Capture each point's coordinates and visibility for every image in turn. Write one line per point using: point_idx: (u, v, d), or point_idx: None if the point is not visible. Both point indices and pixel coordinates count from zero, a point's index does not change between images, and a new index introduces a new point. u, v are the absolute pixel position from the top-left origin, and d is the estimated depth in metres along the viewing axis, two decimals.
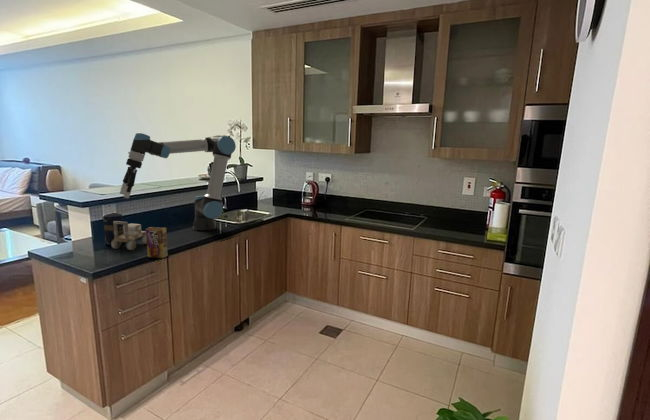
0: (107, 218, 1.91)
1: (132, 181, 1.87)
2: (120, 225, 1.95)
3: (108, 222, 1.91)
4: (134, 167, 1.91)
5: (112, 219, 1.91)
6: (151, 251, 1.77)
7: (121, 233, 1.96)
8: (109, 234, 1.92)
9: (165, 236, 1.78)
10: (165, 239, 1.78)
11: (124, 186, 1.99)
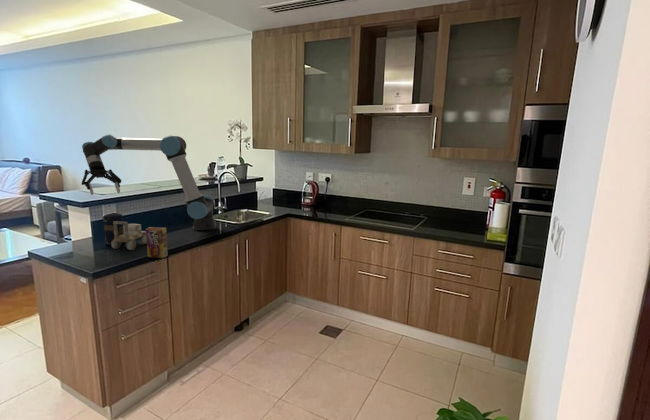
0: (107, 218, 1.91)
1: (82, 180, 1.95)
2: (120, 225, 1.95)
3: (108, 222, 1.91)
4: (90, 169, 2.02)
5: (112, 219, 1.91)
6: (151, 251, 1.77)
7: (121, 233, 1.96)
8: (109, 234, 1.92)
9: (165, 236, 1.78)
10: (165, 239, 1.78)
11: (115, 185, 2.05)
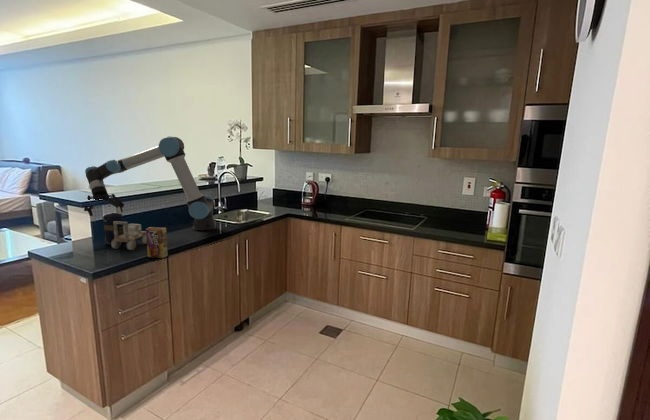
0: (107, 218, 1.91)
1: None
2: (120, 225, 1.95)
3: (108, 222, 1.91)
4: (93, 195, 2.01)
5: (112, 219, 1.91)
6: (151, 251, 1.77)
7: (121, 233, 1.96)
8: (109, 234, 1.92)
9: (165, 236, 1.78)
10: (165, 239, 1.78)
11: (118, 210, 2.05)
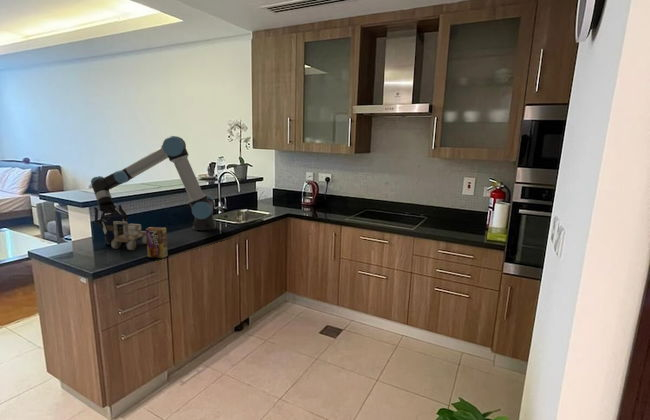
0: (107, 218, 1.91)
1: (95, 219, 1.92)
2: (120, 225, 1.95)
3: (108, 222, 1.91)
4: None
5: (112, 219, 1.91)
6: (151, 251, 1.77)
7: (121, 233, 1.96)
8: (109, 234, 1.92)
9: (165, 236, 1.78)
10: (165, 239, 1.78)
11: None
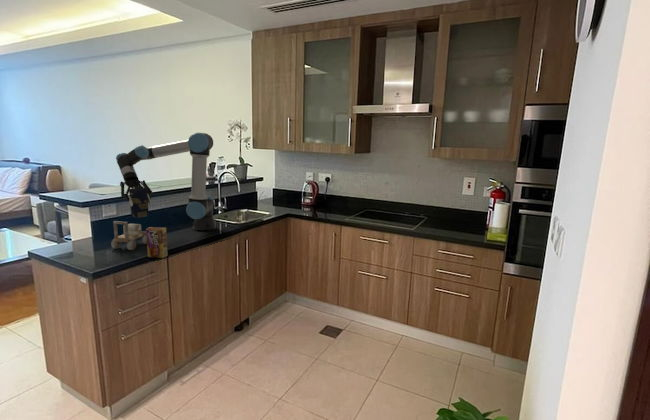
0: (133, 191, 1.99)
1: (121, 192, 2.01)
2: (145, 198, 2.04)
3: (134, 195, 2.00)
4: (124, 180, 2.06)
5: (138, 192, 2.00)
6: (151, 251, 1.77)
7: (146, 206, 2.05)
8: (135, 207, 2.01)
9: (165, 236, 1.78)
10: (165, 239, 1.78)
11: None
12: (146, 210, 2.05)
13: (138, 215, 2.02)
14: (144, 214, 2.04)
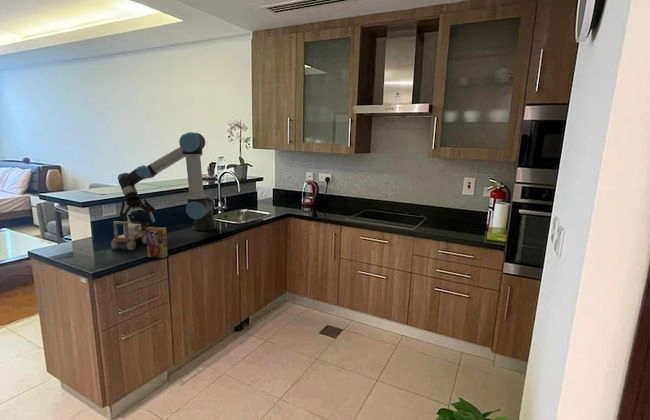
0: (134, 214, 2.02)
1: (120, 211, 2.02)
2: (146, 221, 2.06)
3: (135, 218, 2.02)
4: (126, 200, 2.09)
5: (139, 215, 2.02)
6: (151, 251, 1.77)
7: None
8: None
9: (165, 236, 1.78)
10: (165, 239, 1.78)
11: (150, 215, 2.12)
12: None
13: (139, 238, 2.05)
14: None
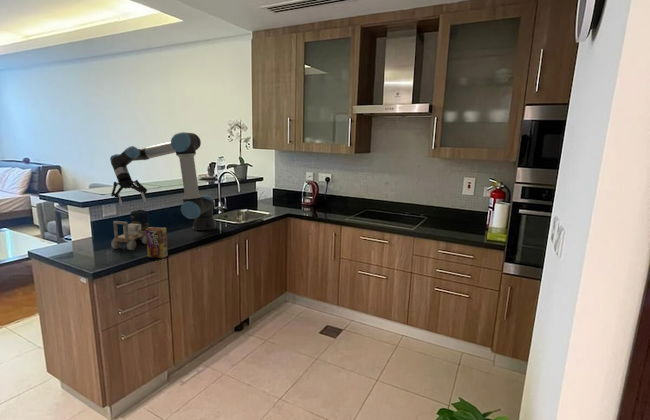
0: (134, 214, 2.02)
1: (112, 191, 2.10)
2: (146, 221, 2.06)
3: (135, 218, 2.02)
4: (118, 181, 2.16)
5: (139, 215, 2.02)
6: (151, 251, 1.77)
7: None
8: None
9: (165, 236, 1.78)
10: (165, 239, 1.78)
11: (142, 195, 2.20)
12: None
13: (139, 238, 2.05)
14: None
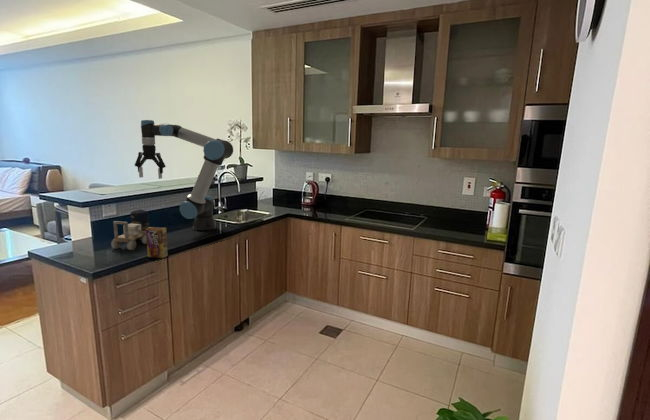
0: (134, 214, 2.02)
1: None
2: (146, 221, 2.06)
3: (135, 218, 2.02)
4: None
5: (139, 215, 2.02)
6: (151, 251, 1.77)
7: None
8: None
9: (165, 236, 1.78)
10: (165, 239, 1.78)
11: None
12: None
13: (139, 238, 2.05)
14: None
